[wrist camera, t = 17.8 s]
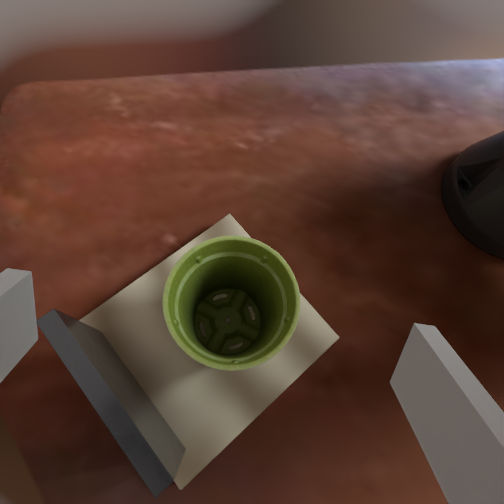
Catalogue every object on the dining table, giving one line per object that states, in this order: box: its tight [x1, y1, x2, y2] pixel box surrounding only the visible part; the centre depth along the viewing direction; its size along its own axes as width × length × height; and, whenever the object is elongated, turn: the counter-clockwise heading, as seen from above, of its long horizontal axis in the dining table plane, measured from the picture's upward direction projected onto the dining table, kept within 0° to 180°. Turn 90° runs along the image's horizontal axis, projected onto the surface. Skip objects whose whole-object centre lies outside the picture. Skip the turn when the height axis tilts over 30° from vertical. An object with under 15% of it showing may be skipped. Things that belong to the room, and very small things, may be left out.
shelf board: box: [79, 214, 339, 490], centre depth 33 cm, size 18×16×2 cm
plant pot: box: [162, 235, 300, 371], centre depth 28 cm, size 9×9×9 cm
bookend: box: [37, 309, 186, 498], centre depth 25 cm, size 1×12×10 cm, turn 41°
